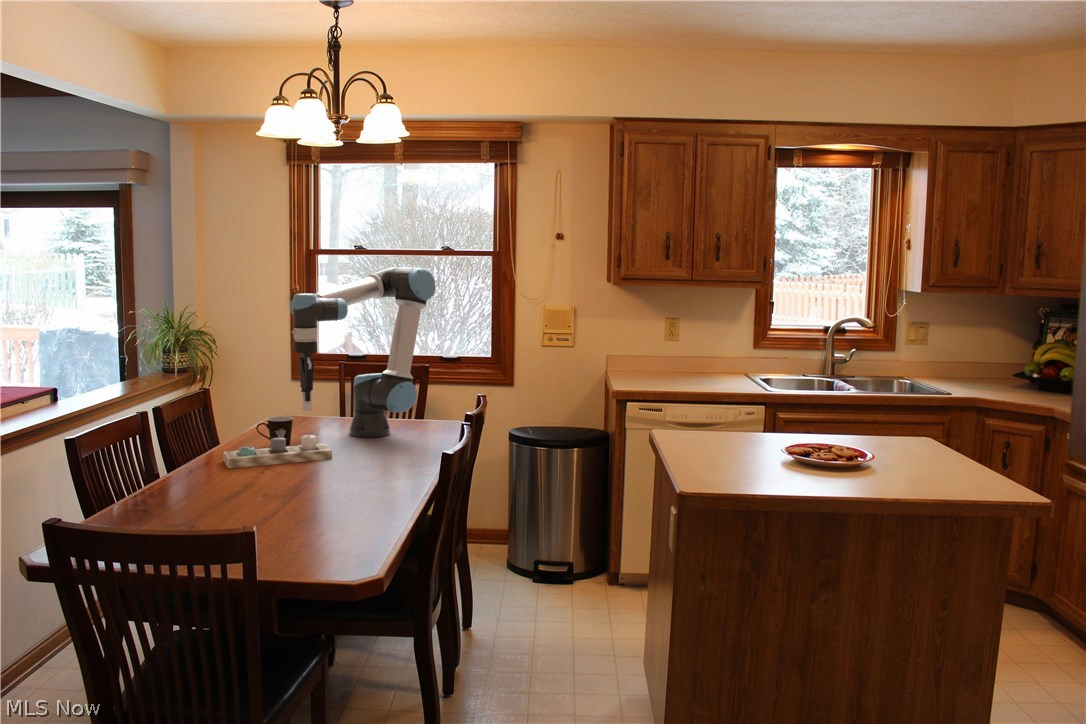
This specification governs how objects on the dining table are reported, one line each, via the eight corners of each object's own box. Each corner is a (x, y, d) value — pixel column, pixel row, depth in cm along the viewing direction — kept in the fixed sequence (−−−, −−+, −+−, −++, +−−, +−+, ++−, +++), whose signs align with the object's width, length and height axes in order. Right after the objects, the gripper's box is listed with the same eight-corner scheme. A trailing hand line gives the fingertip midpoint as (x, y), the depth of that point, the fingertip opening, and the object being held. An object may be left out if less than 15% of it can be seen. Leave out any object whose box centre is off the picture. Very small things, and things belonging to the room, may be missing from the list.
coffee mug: (297, 444, 304) (296, 416, 303) (287, 449, 295) (287, 421, 294) (265, 442, 305) (265, 415, 304) (255, 448, 297) (254, 420, 295)
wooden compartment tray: (324, 451, 294) (324, 443, 293) (332, 458, 284) (332, 450, 284) (223, 460, 278) (223, 451, 278) (228, 468, 269) (227, 459, 268)
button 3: (253, 459, 280) (253, 445, 279) (255, 462, 276) (255, 448, 275) (238, 460, 278) (237, 446, 277) (240, 464, 273) (239, 449, 273)
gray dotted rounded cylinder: (284, 450, 284) (284, 436, 284) (287, 453, 280) (286, 439, 279) (269, 451, 282) (269, 437, 281) (272, 454, 278) (271, 440, 277)
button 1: (314, 447, 289) (314, 434, 288) (317, 450, 285) (317, 437, 284) (300, 448, 287) (299, 435, 286) (303, 451, 282) (302, 438, 282)
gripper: (290, 338, 285) (291, 407, 288) (297, 343, 273) (299, 414, 276) (312, 337, 288) (314, 406, 291) (321, 342, 276) (322, 413, 280)
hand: (307, 410), depth 284 cm, fingers closed
